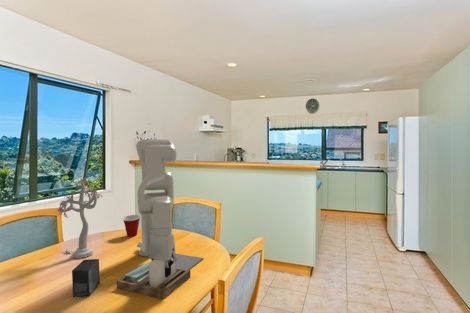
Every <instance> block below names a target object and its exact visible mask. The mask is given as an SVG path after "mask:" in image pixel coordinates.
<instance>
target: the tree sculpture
mask: <svg viewBox="0 0 470 313" xmlns="http://www.w3.org/2000/svg"><path fill="white" fill-rule="evenodd" d="M85 179H86V177H84V178H82V179H81V180H79V181H78V182H77V183H76V186H75V187H76V189H78V186H79V184H80V186H81V189H80V191H79V197H78V198H79V199H78V200H74V195H77V194H76V193H72V194H69V195H66V196H64V197H63V199H64V198H65V199H66V200H62V201H61V202H60V203H59V207H58V210H57V211H58V213H59V215H60V216H62V215H63V216H64V218H70V217H69V216H68V215H67V212H69V211H74V212H77V213H79V216H80V219H81V223H82V229H81V230H80V231H81V232H80V234H79V237H78V247H77V248H76V249H75V250H74V251H72V250H69V249H66V250H64V251H65V252H66V253H67V254H70V252H71V253H72V258H74V257H75V258H74V259H83V258H82V257H85V258H88V257H90V255H91V256H92V255H93V252H94V251H93V250H94V249H93V248H91V247H89V246H88V234H89V224H88V221H87V219H86V217H85V209H87V210H92V209H94V208H95V207H96V205H97V201H98V200H99V199H100V197H101V198H103V195H101V194H100V193H98V191H97V190H96V189H97V187H94V188H93V189H92V188H91V186H90V185H88V184H87V181H86V180H85ZM88 179H89V180H90V178H88V177H87V180H88ZM86 187H87V188H86ZM90 191H91V193H90ZM84 196H87V198H88V200H84ZM68 205H69V206H68ZM74 205H79V208H77V207H75V206H74ZM67 206H68V207H67ZM65 252H64V253H65ZM87 256H88V257H87Z"/></svg>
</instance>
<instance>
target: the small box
mask: <svg viewBox="0 0 470 313" xmlns="http://www.w3.org/2000/svg"><path fill="white" fill-rule="evenodd" d="M100 278H101V277H100V259H99V258H95V259H94V258H93V259H83V260H81V262H80V263H79V264H77V266H76V267H74V268H73V269H72V270H71V279H72V282H71V283H72V298H88V297H87V296H90V297H91V295H92V294H93V293H94V292H95V290H96V289H97V288H98V286H100V285H101V279H100ZM85 296H86V297H85Z"/></svg>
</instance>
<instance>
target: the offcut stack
mask: <svg viewBox="0 0 470 313" xmlns="http://www.w3.org/2000/svg"><path fill="white" fill-rule="evenodd" d="M149 262H150V261H147V262H146V263H144V264H142V265H141V266H139V267H137V268H135V269H133V270H132V271H129V272H128V273H126V274H124V277H125V279H127V281H128V282H132V283H137V284H142V283H144V282H145V281H147V280H148V279H149Z"/></svg>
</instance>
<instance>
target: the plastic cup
mask: <svg viewBox="0 0 470 313" xmlns="http://www.w3.org/2000/svg"><path fill="white" fill-rule="evenodd" d="M121 219H122V221H123V223H124V227H125V231H126V232H125V233H126V236H127V238H133V237H137V235H138V230H139V223H140V219H141V215H139V214H129V215H125V216H123V217H122V218H121Z"/></svg>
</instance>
